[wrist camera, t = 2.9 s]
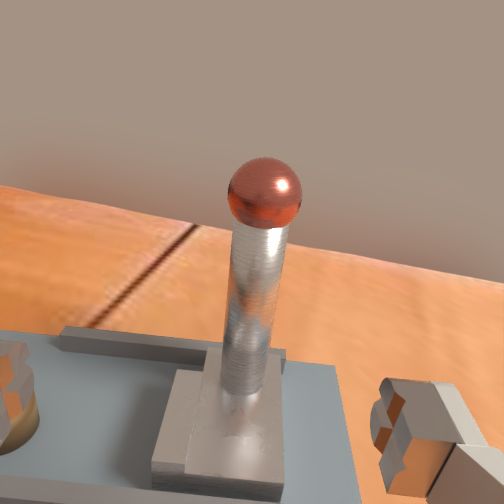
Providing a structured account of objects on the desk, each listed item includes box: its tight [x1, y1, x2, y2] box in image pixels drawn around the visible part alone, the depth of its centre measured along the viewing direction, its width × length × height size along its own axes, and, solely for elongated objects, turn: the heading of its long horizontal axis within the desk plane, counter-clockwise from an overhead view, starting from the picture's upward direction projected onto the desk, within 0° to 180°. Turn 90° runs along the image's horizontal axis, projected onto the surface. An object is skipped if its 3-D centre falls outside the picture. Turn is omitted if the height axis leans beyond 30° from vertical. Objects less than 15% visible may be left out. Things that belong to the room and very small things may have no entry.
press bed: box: [0, 326, 362, 504], centre depth 23 cm, size 16×26×5 cm, turn 88°
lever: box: [151, 157, 302, 503], centre depth 20 cm, size 9×6×16 cm
